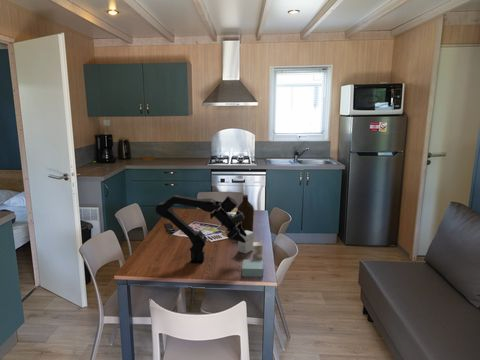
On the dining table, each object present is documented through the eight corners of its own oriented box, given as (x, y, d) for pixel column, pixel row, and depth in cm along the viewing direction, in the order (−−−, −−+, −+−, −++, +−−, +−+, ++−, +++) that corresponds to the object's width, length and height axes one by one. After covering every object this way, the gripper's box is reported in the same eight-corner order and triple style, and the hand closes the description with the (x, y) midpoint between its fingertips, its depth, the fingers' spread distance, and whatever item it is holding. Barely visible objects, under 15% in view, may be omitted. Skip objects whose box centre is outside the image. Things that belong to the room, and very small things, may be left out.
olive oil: (244, 236, 216) (244, 198, 211) (234, 232, 224) (233, 195, 219) (257, 232, 222) (257, 195, 218) (246, 228, 231) (246, 192, 226)
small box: (246, 247, 198) (246, 229, 196) (254, 249, 195) (254, 231, 193) (237, 251, 192) (237, 233, 190) (245, 253, 189) (245, 235, 187)
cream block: (252, 263, 176) (252, 245, 174) (253, 259, 181) (253, 242, 179) (262, 264, 176) (262, 245, 174) (262, 260, 181) (262, 242, 179)
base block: (242, 276, 163) (242, 268, 162) (243, 267, 173) (243, 259, 172) (263, 276, 162) (263, 268, 161) (263, 267, 172) (263, 260, 171)
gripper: (233, 212, 165) (256, 234, 166) (236, 203, 183) (257, 222, 184) (217, 228, 167) (240, 249, 168) (222, 217, 185) (242, 236, 186)
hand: (245, 238), depth 177 cm, fingers open, 9 cm apart
